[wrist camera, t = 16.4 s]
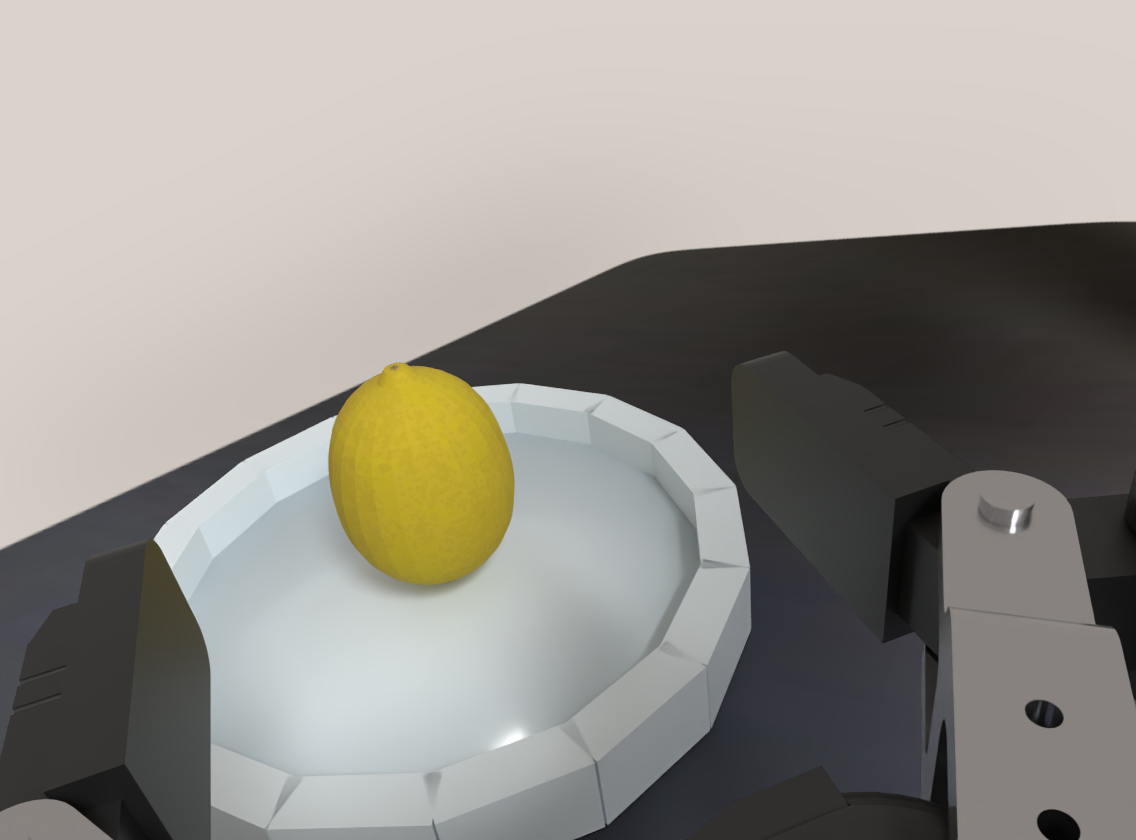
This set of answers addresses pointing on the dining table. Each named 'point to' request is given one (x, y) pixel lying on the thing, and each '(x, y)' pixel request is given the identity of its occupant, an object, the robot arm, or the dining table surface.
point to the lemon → (421, 475)
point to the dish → (467, 637)
